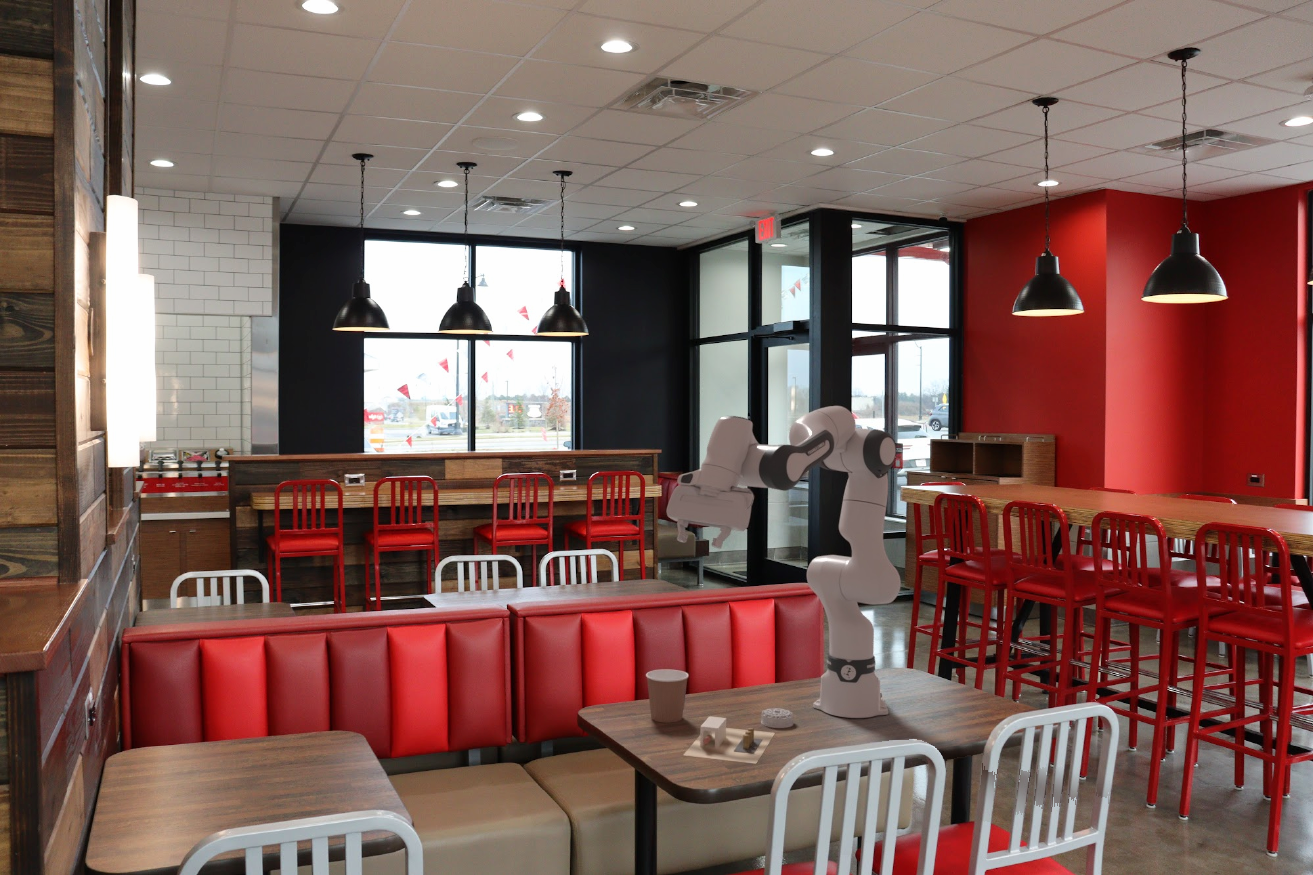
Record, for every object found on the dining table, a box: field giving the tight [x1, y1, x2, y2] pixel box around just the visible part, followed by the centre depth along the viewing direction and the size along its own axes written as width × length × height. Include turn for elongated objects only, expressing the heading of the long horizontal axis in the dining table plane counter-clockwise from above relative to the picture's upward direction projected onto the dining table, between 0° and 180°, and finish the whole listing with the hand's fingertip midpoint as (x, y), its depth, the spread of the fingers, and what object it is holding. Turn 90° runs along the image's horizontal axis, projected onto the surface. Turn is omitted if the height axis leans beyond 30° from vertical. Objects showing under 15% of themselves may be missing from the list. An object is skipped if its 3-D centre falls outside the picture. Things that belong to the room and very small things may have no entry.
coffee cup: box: [645, 668, 689, 724], centre depth 247 cm, size 10×10×12 cm
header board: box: [682, 727, 776, 765], centre depth 228 cm, size 22×16×4 cm
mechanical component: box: [760, 707, 794, 729], centre depth 244 cm, size 10×4×10 cm
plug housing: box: [699, 715, 727, 748], centre depth 228 cm, size 11×4×4 cm, turn 163°
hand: (698, 544), depth 220 cm, fingers open, 8 cm apart
